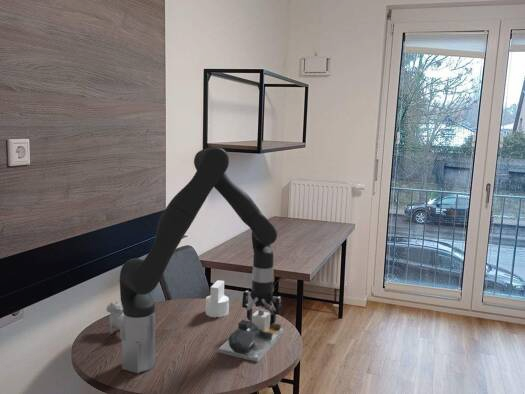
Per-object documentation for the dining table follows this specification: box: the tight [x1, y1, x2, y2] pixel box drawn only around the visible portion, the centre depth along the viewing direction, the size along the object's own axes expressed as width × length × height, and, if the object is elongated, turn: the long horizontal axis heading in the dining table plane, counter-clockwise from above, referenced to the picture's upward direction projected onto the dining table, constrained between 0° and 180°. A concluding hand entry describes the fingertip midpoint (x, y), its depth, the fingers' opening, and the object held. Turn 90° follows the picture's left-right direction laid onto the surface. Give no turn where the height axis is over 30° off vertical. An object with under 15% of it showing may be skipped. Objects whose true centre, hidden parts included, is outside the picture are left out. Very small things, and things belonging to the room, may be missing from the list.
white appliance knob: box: [205, 279, 230, 318], centre depth 188 cm, size 9×9×12 cm
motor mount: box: [218, 319, 285, 363], centre depth 164 cm, size 24×14×10 cm, turn 157°
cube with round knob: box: [252, 308, 271, 331], centre depth 171 cm, size 5×5×8 cm
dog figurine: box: [106, 301, 124, 341], centre depth 168 cm, size 5×13×11 cm, turn 48°
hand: (261, 321), depth 171 cm, fingers open, 8 cm apart
